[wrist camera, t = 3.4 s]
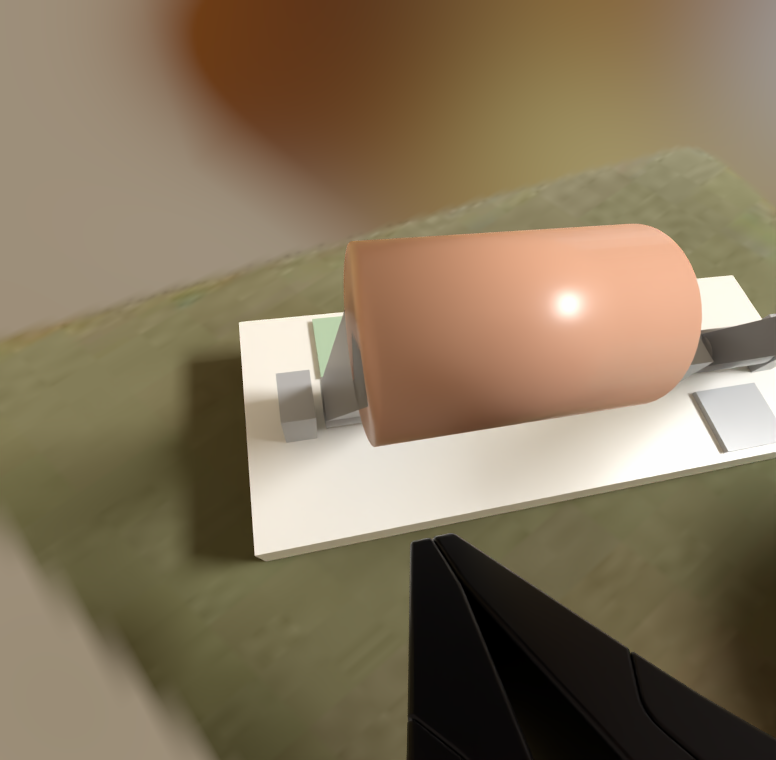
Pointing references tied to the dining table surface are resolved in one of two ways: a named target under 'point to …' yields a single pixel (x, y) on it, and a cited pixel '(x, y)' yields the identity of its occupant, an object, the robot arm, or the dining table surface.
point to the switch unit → (476, 442)
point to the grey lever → (740, 344)
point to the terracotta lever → (508, 329)
